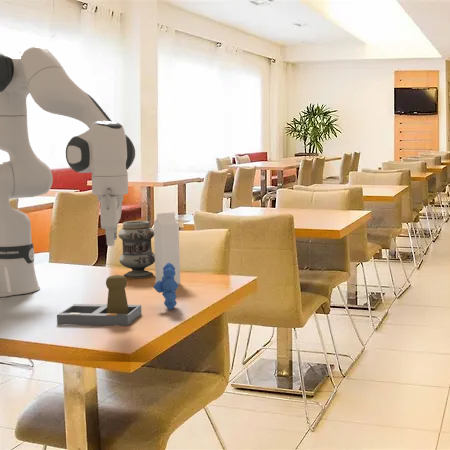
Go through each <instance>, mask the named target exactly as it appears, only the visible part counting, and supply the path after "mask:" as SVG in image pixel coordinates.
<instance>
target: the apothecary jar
mask: <svg viewBox="0 0 450 450" xmlns="http://www.w3.org/2000/svg"><path fill="white" fill-rule="evenodd" d="M149 222H150V221H147V220H133V221H130V220H129V221H124V222H122V228H120V230H119V231H118V232H117V233H118V234H117V237H118V238H119V239H120V240H122V241H121V243H122V254H121V255H120V256H119V259H118V262H119V263H120V265H121V266H123V267H125V268H127V269H131V271H127V272H126V273H124V274H123V275H122V276H124V277H125V278H126V279H134V280H136V279H147V278H151V277H153V276H154V273H153V272H152V271H148V270H146V268H148V267H150V266H152V265H153V264H155V252H153V250H152V249H153V248H152V239H153V238H154V228H152V227H151V226H150V223H149Z"/></svg>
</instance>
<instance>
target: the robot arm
mask: <svg viewBox="0 0 450 450" xmlns="http://www.w3.org/2000/svg"><path fill="white" fill-rule="evenodd" d="M29 94H30V96H31V97H32V99H33V101H34V103H36V104H37V105H38V107H40V108H41V109H42V110H43V111H45V112H46V113H50V114H54V115H58V116H64V117H68V118H71V119H74V120H78V121H79V122H81V123H83V124H85V125H86V126H87V127H88V130H86V131H85V132H83V133H81V134H79V135H76V136H72V137H71V138H70V139H69V141H68V143H67V145H66V148H65V160H66V162H67V164H68V166H69V168H71V170H73V172H76V173H81V174H85V173H86V174H87V173H91V193H92V195H93V196H97V201H98V202H99V204H100V205H99V207H100V228H101V229H102V230H105V232H104V233H105V239H106V246H108V247H113V246H115V241H116V240H117V239H118V234H117V233H118V226H119V225H118V224H119V222H120V220H121V218H122V209H123V201H124V195H128V194H129V177H128V175H129V173H128V170H129V168H130V167H132V165H133V163H134V161H135V158H136V148H135V145H134V143H133V141H132V140H131V139H130V137H129V136H128V135H127V134H126V133H125V129H124V126H123V125H122V124H121V123H119V122H116V121H113V120H112V119H111V118H110V117H109V116H108V114H107V113H106V112H105V111H104V109H103V108H102V107H101V106H100V105H99V103H98V102H97V101H96V100H95V98H94V97H92V95H90V94H89V93H87V92H85V90H83V89H82V88H80V86H78V85H77V84H76V83H75V82H74V81H73V80H72V79H71V77H70V76H69V75H68V74H67V72H66V71H65V69H64V67H63V65H61V63H60V62H59V60H58V59H57V58H56V57H55V55H53V53H52V52H50V51H49V49H47V48H45V47H43V46H32V47H29V48H27V49H26V50H24V51H23V52H22V51H20V52H19V51H18V52H5V53H1V52H0V151H3V152H6V153H7V154H8V157H9V161H0V298H4V297H10V296H15V295H17V296H18V295H23V294H30V293H33V292H37V291H39V290H40V286H39V282H38V279H37V275H36V274H37V273H36V270H35V263H34V262H35V249H34V248H35V247H34V243H33V242H32V239H33V238H32V224H31V219H30V217H29V215H27V214H26V213H25V212H23V211H21V210H19V209H16V208H14V207H13V206H11V203H10V200H11V199H23V198H34V197H39V196H42V195H45V194H46V195H47V194H48V192H49V191H50V189H52V186H53V181H54V177H53V173H52V171H51V167H49V165H48V164H46V163H45V162H43V161H42V160H41V159H40V158H39V157H38V156H37V155H36V154H35V152H34V151H33V147H32V146H31V143H30V139H29V131H28V112H27V109H28V108H27V97H28V95H29Z"/></svg>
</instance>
